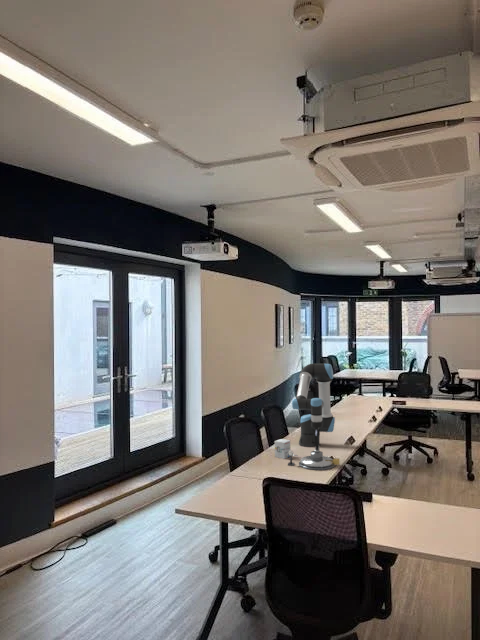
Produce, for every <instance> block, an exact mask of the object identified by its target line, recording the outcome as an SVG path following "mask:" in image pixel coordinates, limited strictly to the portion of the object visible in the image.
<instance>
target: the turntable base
mask: <svg viewBox="0 0 480 640" xmlns="http://www.w3.org/2000/svg"><path fill="white" fill-rule="evenodd" d="M298 466H299V467H300V468H303V469H306V470H309V471H326V470H327V471H328V470H332V469H334V468H335V467H336V464H333V465H332V466H329V467H324V468H312V467H307V466H303V465H302V464H301V463H300V461H299V462H298Z"/></svg>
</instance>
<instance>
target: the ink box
mask: <svg viewBox="0 0 480 640" xmlns="http://www.w3.org/2000/svg"><path fill="white" fill-rule="evenodd" d="M290 450H291V440H290V439H284V438H280V439H277V440H274V458H279V459H283V460H285V459H287V458H290V456H289V455H288V452H289V451H290ZM291 451H292V450H291Z"/></svg>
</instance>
